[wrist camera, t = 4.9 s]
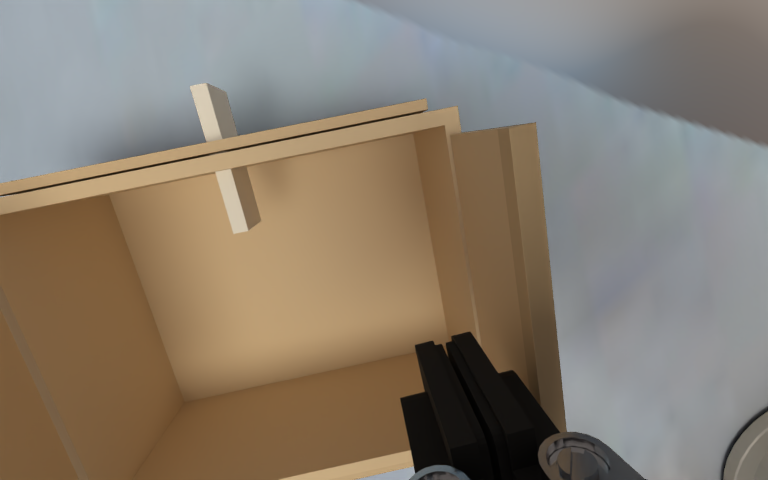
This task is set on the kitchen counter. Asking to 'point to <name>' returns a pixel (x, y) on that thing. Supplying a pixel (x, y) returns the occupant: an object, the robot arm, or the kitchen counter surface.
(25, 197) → the carton
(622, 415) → the kitchen counter surface
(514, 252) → the right flap
